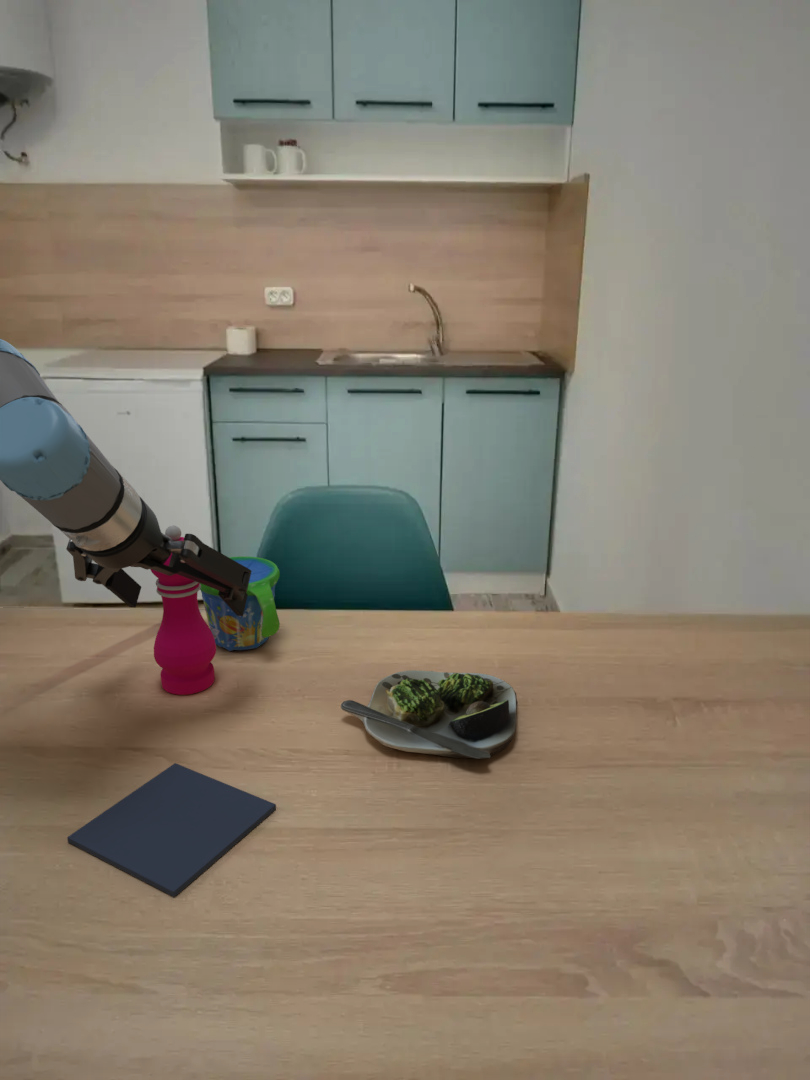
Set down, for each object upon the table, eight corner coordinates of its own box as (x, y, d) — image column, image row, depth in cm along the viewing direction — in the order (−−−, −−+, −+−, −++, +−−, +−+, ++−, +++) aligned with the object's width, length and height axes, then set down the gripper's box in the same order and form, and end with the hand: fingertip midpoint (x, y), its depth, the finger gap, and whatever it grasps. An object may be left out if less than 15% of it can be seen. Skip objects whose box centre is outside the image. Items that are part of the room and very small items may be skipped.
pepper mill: (157, 701, 96) (138, 539, 89) (157, 672, 103) (139, 519, 96) (221, 692, 98) (207, 532, 91) (216, 664, 105) (203, 513, 98)
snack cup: (304, 652, 108) (301, 579, 104) (229, 674, 102) (223, 598, 99) (253, 611, 120) (249, 545, 117) (183, 629, 114) (176, 560, 111)
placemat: (67, 842, 73) (66, 837, 73) (175, 767, 84) (175, 762, 84) (174, 897, 67) (173, 891, 67) (276, 809, 78) (276, 803, 77)
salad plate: (324, 760, 85) (322, 720, 83) (359, 676, 102) (358, 642, 100) (514, 777, 82) (516, 736, 81) (518, 687, 99) (520, 653, 97)
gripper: (-22, 546, 81) (83, 622, 99) (220, 562, 76) (282, 639, 95) (4, 479, 84) (101, 565, 103) (237, 491, 79) (294, 579, 98)
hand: (188, 601), depth 99 cm, fingers open, 13 cm apart
